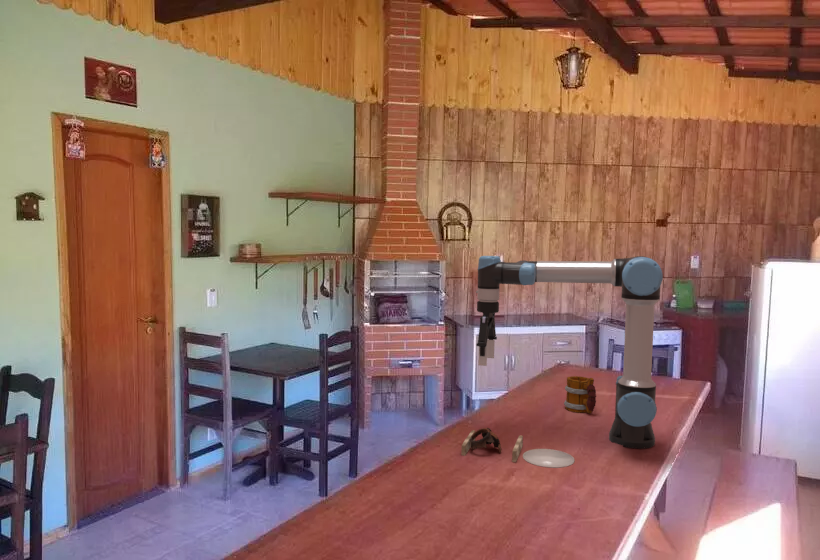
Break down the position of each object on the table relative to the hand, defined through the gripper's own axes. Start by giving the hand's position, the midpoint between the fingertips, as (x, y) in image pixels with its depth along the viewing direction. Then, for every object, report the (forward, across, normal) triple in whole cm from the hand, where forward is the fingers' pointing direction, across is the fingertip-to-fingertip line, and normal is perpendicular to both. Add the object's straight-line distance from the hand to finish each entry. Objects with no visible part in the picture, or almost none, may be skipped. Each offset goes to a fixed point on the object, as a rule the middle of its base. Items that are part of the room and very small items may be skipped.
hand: (486, 361), depth 218 cm
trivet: (+27, +14, +23) cm, 38 cm away
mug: (+27, -45, +31) cm, 61 cm away
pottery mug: (+28, +12, +5) cm, 30 cm away
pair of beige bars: (+27, +13, +5) cm, 30 cm away
